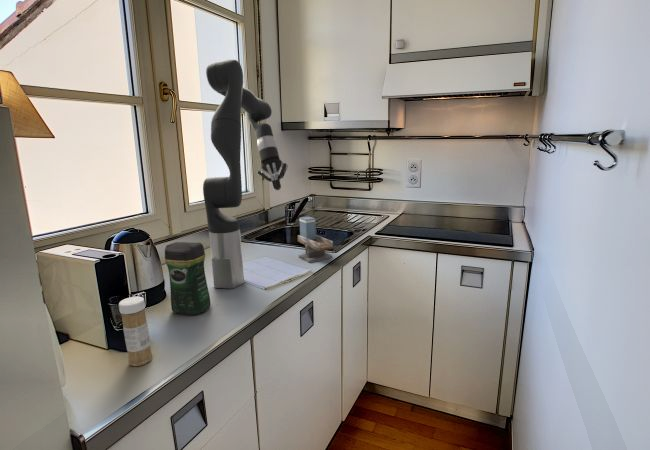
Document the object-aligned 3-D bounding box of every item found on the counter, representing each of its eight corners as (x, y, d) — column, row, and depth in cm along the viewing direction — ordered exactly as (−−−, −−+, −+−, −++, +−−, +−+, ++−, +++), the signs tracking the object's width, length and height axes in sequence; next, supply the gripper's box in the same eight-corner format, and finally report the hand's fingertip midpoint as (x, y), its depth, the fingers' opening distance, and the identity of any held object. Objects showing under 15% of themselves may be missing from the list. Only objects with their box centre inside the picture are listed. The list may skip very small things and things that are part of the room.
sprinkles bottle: (145, 352, 81) (136, 293, 78) (157, 359, 79) (148, 298, 76) (124, 362, 78) (113, 301, 75) (135, 370, 75) (125, 307, 72)
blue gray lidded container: (316, 239, 144) (315, 218, 142) (306, 240, 142) (305, 219, 140) (309, 236, 148) (308, 216, 146) (300, 238, 146) (299, 217, 144)
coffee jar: (215, 304, 104) (209, 239, 100) (198, 318, 96) (190, 247, 92) (185, 301, 106) (177, 237, 102) (166, 314, 99) (157, 245, 95)
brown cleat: (338, 260, 138) (337, 240, 136) (314, 265, 133) (313, 245, 131) (315, 250, 151) (315, 232, 150) (293, 254, 146) (292, 236, 144)
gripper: (249, 151, 152) (259, 192, 150) (280, 142, 150) (291, 183, 148) (255, 156, 159) (265, 195, 157) (285, 147, 158) (295, 186, 156)
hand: (278, 189), depth 153 cm, fingers closed
